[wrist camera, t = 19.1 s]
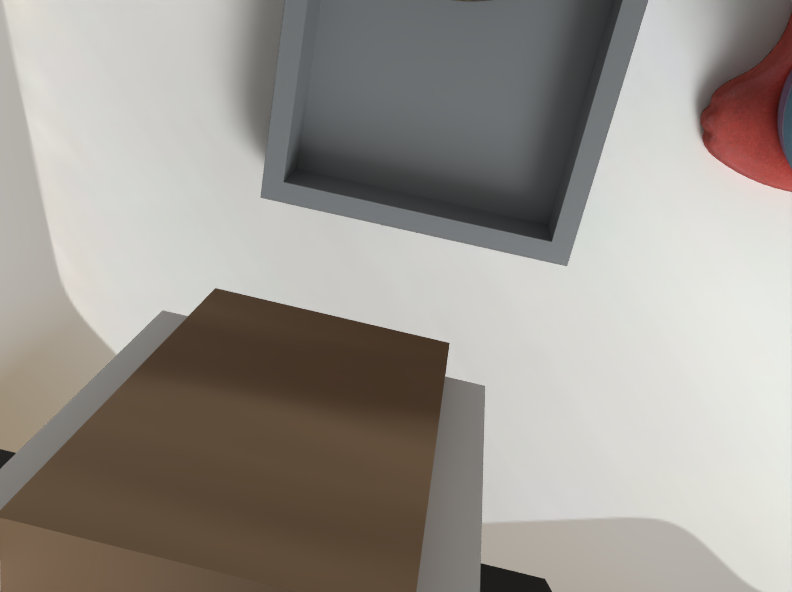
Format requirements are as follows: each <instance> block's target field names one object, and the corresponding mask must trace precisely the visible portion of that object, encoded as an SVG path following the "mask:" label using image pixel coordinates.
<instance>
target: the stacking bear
mask: <svg viewBox="0 0 792 592" xmlns="http://www.w3.org/2000/svg"><path fill="white" fill-rule="evenodd" d="M700 119H701V125H702V127H703V128H704V133H703V142H704V145H705V147H706V148H707V150H708V151H709V152H710V153H711V154H712V155H713V156H714V157H715V158H716V159H718V160H719V161H721V162H722V163H723V164H725V165H726V166H728V167H729V168H731V169H733V170H734V171H736V172H738V173H740V174H742V175H744V176H746V177H748V178H750V179H752V180H755V181H757V182H759V183H762V184H764V185H768V186H771V187H774V188H777V189H781V190H785V191H790V192H792V13H791V16H790V19H789V22H788V25H787V27H786V29H785V31H784V34H783V35H782V37H781V39H780V40H779V42H778V43H777V45H776V46H775V47H774V48H773V50H772V51H771V52H770V53H769V54H768V56H767V57H766V58H765V59H764V60H762V61H761V62H760V63H759V64H758V65H757V66H755V67H754V68H753V69H751V70H749V71H748V72H746V73H744V74H742V75H741V76H738V77H736V78H734V79H732V80H730V81H728V82H726V83H725V84H724V85H722V86H721V87H720V88H718V89H717V90H716V91H715V93H714V94H713V96H712V98H711V103H710V105H709V106H708V107H707V108H706V109H705V110H704V111H703V112H702V114H701V118H700Z"/></svg>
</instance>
